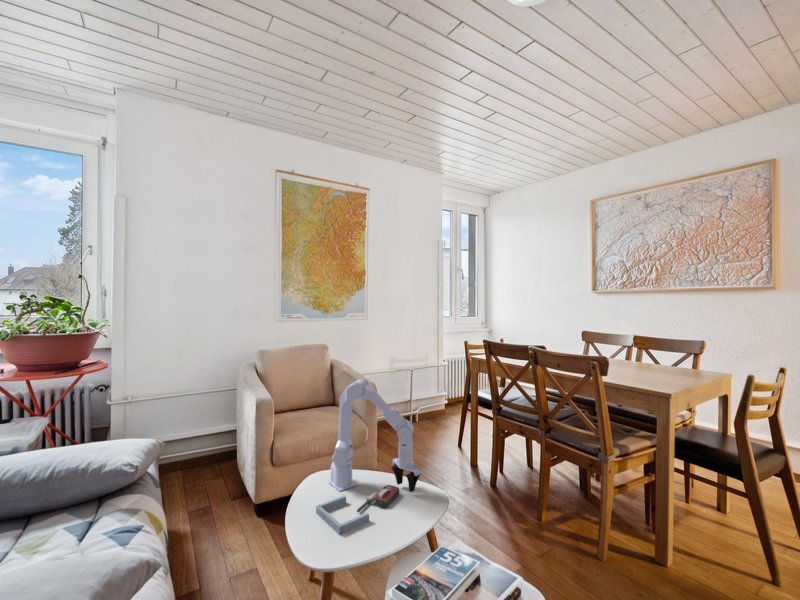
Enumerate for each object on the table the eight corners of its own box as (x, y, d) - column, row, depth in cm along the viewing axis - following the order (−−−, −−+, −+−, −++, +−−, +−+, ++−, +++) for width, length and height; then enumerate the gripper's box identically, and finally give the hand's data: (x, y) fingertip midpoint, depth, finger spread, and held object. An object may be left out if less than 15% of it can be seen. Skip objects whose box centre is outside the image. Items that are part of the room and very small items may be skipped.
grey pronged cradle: (316, 513, 136) (316, 506, 136) (344, 502, 143) (344, 495, 143) (339, 534, 123) (339, 527, 123) (369, 521, 130) (369, 514, 130)
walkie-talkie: (382, 489, 154) (355, 514, 136) (382, 478, 154) (354, 501, 136) (401, 494, 150) (376, 520, 132) (401, 483, 150) (376, 507, 132)
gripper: (425, 456, 148) (425, 491, 148) (401, 445, 160) (401, 477, 159) (411, 461, 144) (411, 497, 144) (388, 449, 155) (388, 482, 155)
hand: (405, 487), depth 151 cm, fingers open, 7 cm apart
